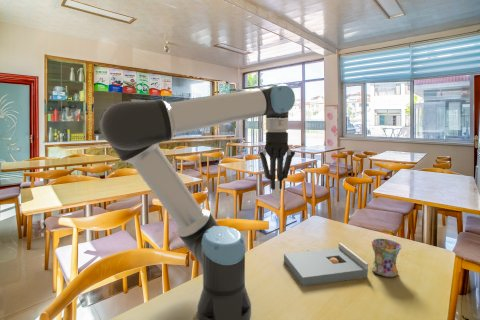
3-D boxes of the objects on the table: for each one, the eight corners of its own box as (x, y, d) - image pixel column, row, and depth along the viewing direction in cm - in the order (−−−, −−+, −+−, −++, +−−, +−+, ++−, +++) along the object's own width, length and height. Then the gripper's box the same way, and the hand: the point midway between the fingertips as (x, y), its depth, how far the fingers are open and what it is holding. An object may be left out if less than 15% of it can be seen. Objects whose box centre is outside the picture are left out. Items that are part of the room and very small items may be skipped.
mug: (405, 277, 100) (407, 248, 98) (381, 280, 98) (383, 251, 97) (382, 260, 111) (384, 234, 110) (360, 263, 110) (361, 236, 108)
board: (302, 286, 95) (302, 271, 94) (283, 261, 112) (284, 248, 111) (367, 277, 100) (368, 263, 99) (340, 254, 117) (341, 242, 116)
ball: (330, 268, 104) (334, 259, 104) (325, 263, 108) (329, 254, 108) (338, 271, 105) (342, 262, 105) (332, 266, 109) (337, 257, 109)
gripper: (261, 131, 94) (261, 202, 98) (299, 131, 97) (297, 199, 100) (255, 130, 101) (255, 196, 105) (290, 130, 104) (289, 194, 108)
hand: (275, 198), depth 103 cm, fingers closed
